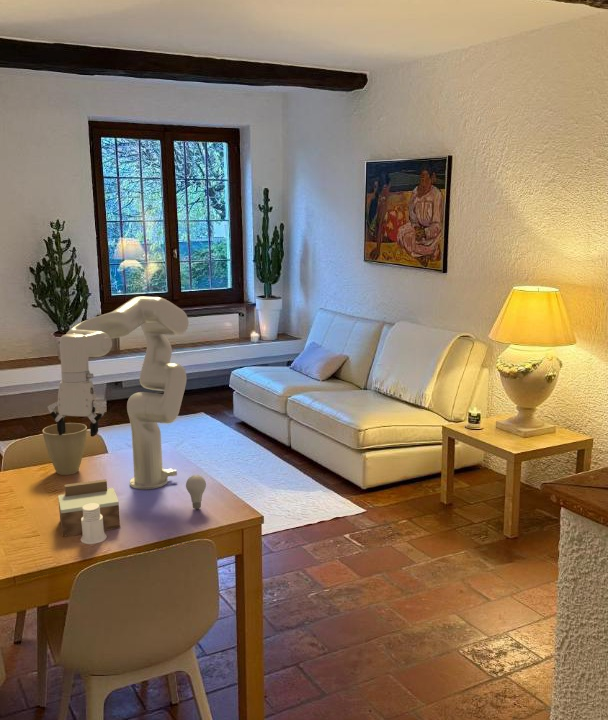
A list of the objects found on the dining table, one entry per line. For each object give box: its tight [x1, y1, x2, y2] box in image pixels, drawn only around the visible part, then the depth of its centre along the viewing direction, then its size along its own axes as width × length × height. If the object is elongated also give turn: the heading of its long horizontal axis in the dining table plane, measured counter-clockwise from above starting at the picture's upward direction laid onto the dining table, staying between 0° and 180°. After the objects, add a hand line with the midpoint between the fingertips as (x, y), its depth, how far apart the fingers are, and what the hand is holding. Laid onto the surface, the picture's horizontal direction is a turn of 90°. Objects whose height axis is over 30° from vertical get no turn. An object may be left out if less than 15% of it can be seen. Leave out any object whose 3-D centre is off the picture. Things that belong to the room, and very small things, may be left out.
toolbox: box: [58, 503, 121, 538], centre depth 219 cm, size 16×12×7 cm
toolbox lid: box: [57, 478, 120, 513], centre depth 218 cm, size 16×12×4 cm
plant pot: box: [42, 422, 88, 476], centre depth 262 cm, size 15×15×16 cm
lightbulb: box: [185, 474, 207, 510], centre depth 229 cm, size 6×6×11 cm
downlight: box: [80, 503, 108, 545], centre depth 209 cm, size 8×7×10 cm
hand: (78, 434), depth 216 cm, fingers open, 9 cm apart
